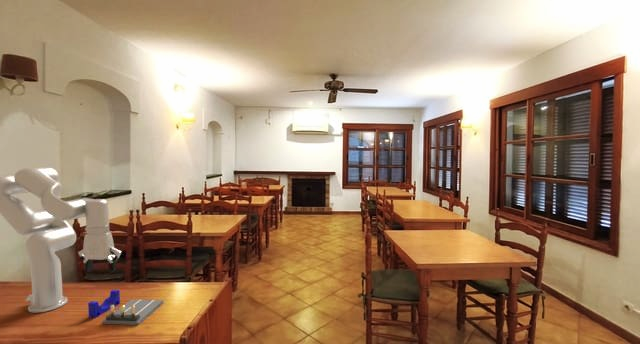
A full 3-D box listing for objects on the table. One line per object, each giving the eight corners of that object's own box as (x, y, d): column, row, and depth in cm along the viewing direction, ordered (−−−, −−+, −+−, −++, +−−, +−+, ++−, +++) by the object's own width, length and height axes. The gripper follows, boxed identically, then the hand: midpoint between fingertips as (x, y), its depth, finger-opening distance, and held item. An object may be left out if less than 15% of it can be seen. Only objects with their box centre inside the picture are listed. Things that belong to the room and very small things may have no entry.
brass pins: (106, 320, 120) (105, 306, 120) (109, 317, 122) (109, 304, 122) (136, 320, 120) (136, 307, 119) (139, 318, 122) (139, 305, 121)
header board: (102, 323, 120) (102, 320, 120) (132, 302, 137) (131, 299, 137) (138, 324, 119) (138, 321, 119) (163, 303, 136) (163, 300, 136)
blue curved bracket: (110, 302, 137) (110, 289, 136) (120, 303, 136) (119, 290, 135) (85, 317, 125) (84, 302, 125) (95, 318, 124) (94, 303, 124)
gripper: (70, 232, 125) (73, 275, 126) (112, 232, 124) (115, 275, 125) (85, 228, 132) (87, 268, 133) (125, 227, 131) (127, 268, 132)
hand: (101, 271), depth 129 cm, fingers open, 9 cm apart
